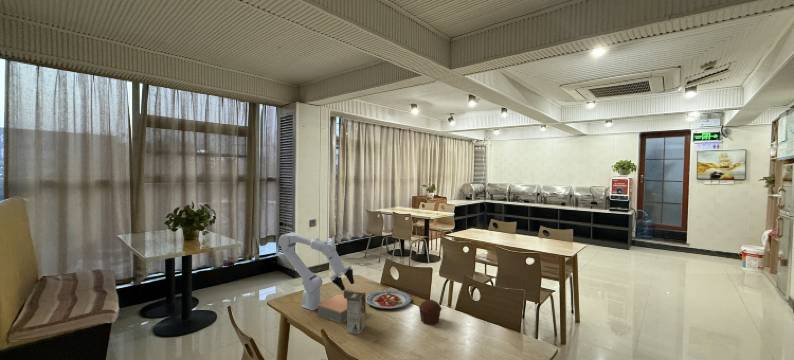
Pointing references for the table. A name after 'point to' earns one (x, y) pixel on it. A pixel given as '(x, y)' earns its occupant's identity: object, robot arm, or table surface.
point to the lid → (337, 302)
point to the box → (332, 314)
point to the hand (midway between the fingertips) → (348, 286)
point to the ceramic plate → (388, 299)
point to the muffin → (430, 312)
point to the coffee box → (356, 312)
